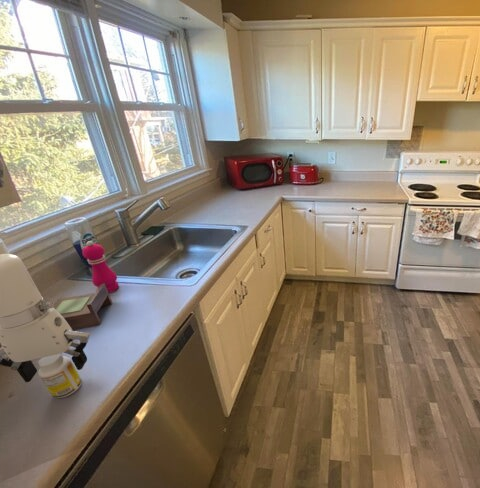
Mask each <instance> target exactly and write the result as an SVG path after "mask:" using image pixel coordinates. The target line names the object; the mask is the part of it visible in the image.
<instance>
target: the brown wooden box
mask: <svg viewBox="0 0 480 488" xmlns="http://www.w3.org/2000/svg"><path fill="white" fill-rule="evenodd" d="M97 288H98V287H97ZM112 304H113V301H112V298H111V296H110V293H108V291H107V288H106V286H105V284H101V285H100V287H99V288H98V289H96V291H95V292H92V293H86V294H80V295H74V296H69V297H68V296H67V297H64V298H63V297H61V298H58V299H57V300H56V301H55V302H53V308H54V309H56V310H57V311H58V312H59V313H60V314H61V315H62V316H63V318H64V319H65V320H66V321H67V323H68V324H69V326H70V327H71V329H72V330H73V331H76V330H80V329H86V328H90V327H96V326H100V325H101V324H102V321H101V319H100V316H99V314H98V312H99V310H100V309H101V307H105V306H110V305H112Z"/></svg>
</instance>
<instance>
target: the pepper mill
mask: <svg viewBox="0 0 480 488" xmlns="http://www.w3.org/2000/svg"><path fill="white" fill-rule="evenodd" d="M81 253H82V256H83V257H84V258H85V259H86V261H87V262H88V264H89V265H90V266H91V268H92V277H91V281H92V284H93V285H94V286H95V287H97V288H96V290H98V288H99V287H100V285H101V284H105V286H106V288H107V291H108V293H109V294H110V293H113V292H115V291H117V289H119V287H120V285H119V282H118V281H117V280H118V276H117V273H116V272H115V271H114V270H113V269H111V268H110V267H109V266H108V264H107V262H106V256H105V255H104V254H105V248H104V247H103V246H102V245H101V244H97V243H94V242H93V241H92V240H89V241H87V242H86V246H85V247H84V248H83V249H82V252H81Z"/></svg>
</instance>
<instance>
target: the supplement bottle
mask: <svg viewBox="0 0 480 488" xmlns="http://www.w3.org/2000/svg"><path fill="white" fill-rule="evenodd" d="M37 365H38V367H39V369H38V370H37V375H38V377H39V378H40V380H41V381H42V383H43V384H44V386H45V387H46V388H47V390H48V392H49V394H50V395H51V396H52V397H53V398H54V399H64V398H67V397H68V396H70V395H72V394H74V393H75V392H76V391H78V390H79V388H80V387H81V385H82V383H83V379H82V378H81V376H80V374H79V373H78V371H77V368H76V366H75V365H74V363H73V361H72V359H70V357H68V356H64V355H63V354H62V353H60V354H57V355H52V356H48V357H43V358H39V360H38V362H37Z"/></svg>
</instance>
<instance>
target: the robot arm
mask: <svg viewBox="0 0 480 488" xmlns="http://www.w3.org/2000/svg"><path fill="white" fill-rule="evenodd" d="M53 304H54V302H52V301H49V302H48V301H46V299H45V298H44V297H43V296H42V294H41V292H40V290H39V288H38V287H37V285H36V283H35V281H34V280H33V277H32V276H31V274H30V272H29V270H28V268H27V267H26V265H25V263H24V262H23V260H22V259H21V258H20V256H18V255H15V254H12V253H1V254H0V345H1V347H0V366H3V367H4V366H5V367H9V368H10V370H12V371H17V373H18V374H19V376H20V377H21V378H22V379H23V381H24V383H29V382H31V381H32V380H33V378H34V377H35V375H36V374H37V373H38V369H37V368H36V366H35V364H34V363H33V361H34V360H37V359H39V360H40V359H42V358H43V357H48V356H52V355H57V354H60V353H61V354H66V355H69V356H71V359H70V360H71V362H72V364H73V365H74V367H75V369H76V371H77V370H78V371H80V370H83V368H84V366H85V364H86V363H87V361H88V357H87V354H86V352H85V350H84V349H85V348H86V346H87V344H88V343H89V340H90V335H91V334H90V332H87V331H86V332H85V331H76V330H72V329H71V327H70V326H69V324H68V323H67V321H66V320H65V319H64V318H63V316H62V315H61V314H60V313H59V312H58V311H57V310H56V309H54V308H53ZM76 340H78V341H79V342H78V341H76Z"/></svg>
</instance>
